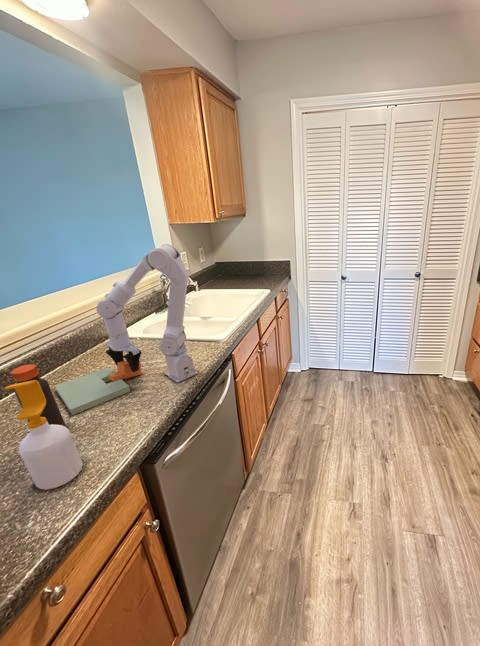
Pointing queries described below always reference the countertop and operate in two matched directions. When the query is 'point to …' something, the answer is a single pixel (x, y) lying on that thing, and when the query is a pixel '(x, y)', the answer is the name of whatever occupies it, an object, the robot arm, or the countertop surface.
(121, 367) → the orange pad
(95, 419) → the countertop surface
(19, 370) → the vinegar
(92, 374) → the grey tile
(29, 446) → the soap bottle
